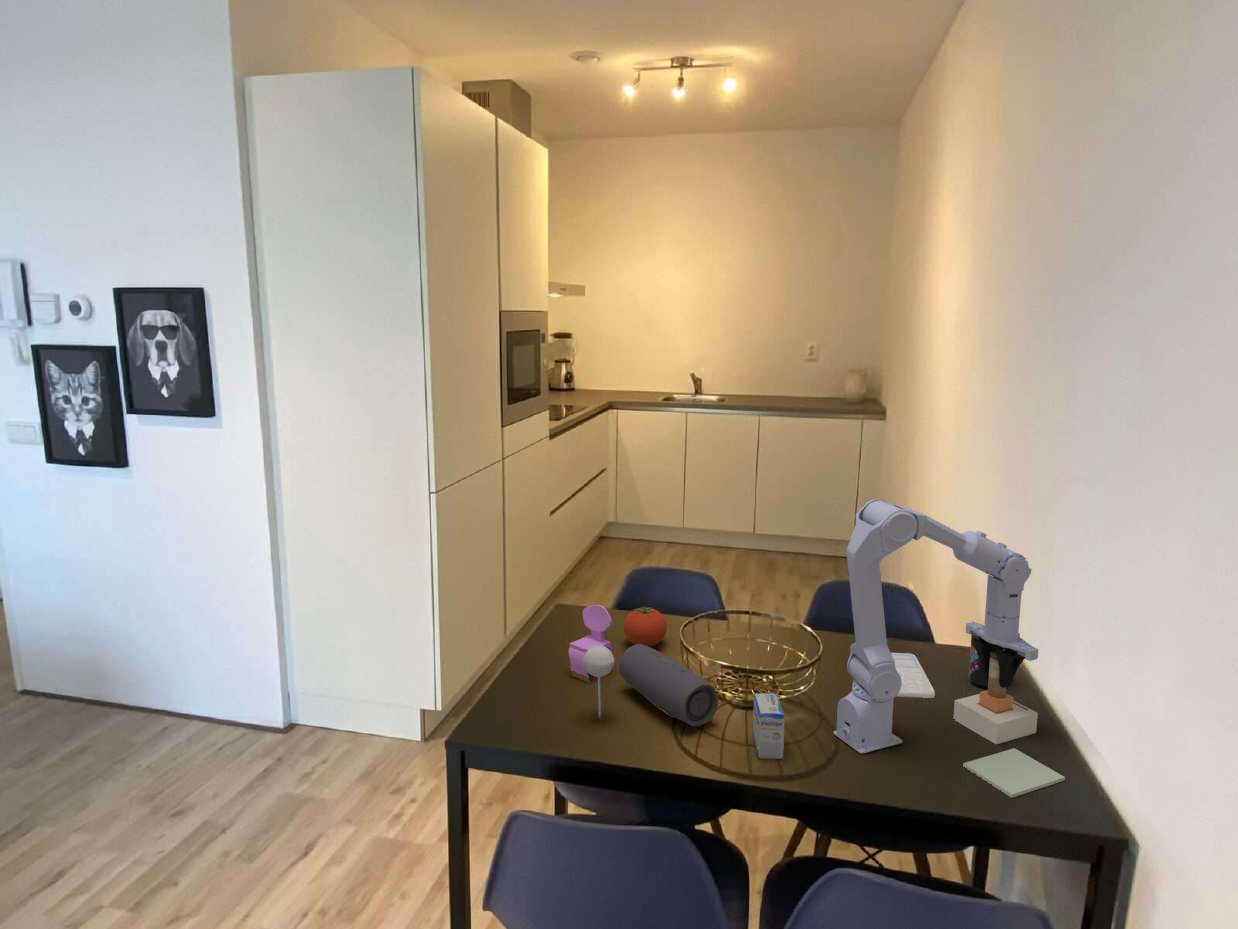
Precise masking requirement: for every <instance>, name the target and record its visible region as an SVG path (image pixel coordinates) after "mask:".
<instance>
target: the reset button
mask: <svg viewBox="0 0 1238 929" xmlns="http://www.w3.org/2000/svg"><path fill="white" fill-rule="evenodd" d="M979 694H980V697H979V705H980V706H982V707H984V708H986V709H988V710H989V711H991V712H993V713H995V714H999V713H1003V712H1007V711H1010V710H1012V706H1013V700H1014V696H1012V695H1010V694H1008V693H1006V694H1005V696H1004V697H995V696H992V695H990V694H988V689H985V690H983V691H982V690H981V691H979Z"/></svg>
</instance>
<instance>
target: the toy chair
mask: <svg viewBox="0 0 1238 929" xmlns="http://www.w3.org/2000/svg"><path fill="white" fill-rule="evenodd" d="M582 618H583V622H584V625H585V627H587V628H588V629H589V630H590V631H591V633H590V634H588V635H585V636H584V637H582V638H580V639H577V640H574V641H571V642H570V643H569V648H568V657H569V662H570V663H569V664H570V669H569V670H571V671H575V672H576V673H578V674H582V675H584V676H586V677H587V678H589V679H590V676H589V673H588V672H587V671H586V669H585V667H584V664H583V658H584V656H585V654H586V652H587V651H588V650H589V649H590V648H592V647H594V646H604V647H606V648H608V649H609V650H610V651H611V652H612V650H613V646H612V644H611V641H610V640H606V639H605V631H606V630H608V629H609V628H610V627H611V625H612V617H611V615H610V613H609V612H608V610H607V608H606V607H604V606H603V605H600V604H591V605H588V606H586V607H584V608H583V610H582ZM613 666H614V667H615V664H614V665H613Z"/></svg>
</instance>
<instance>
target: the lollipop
mask: <svg viewBox="0 0 1238 929" xmlns="http://www.w3.org/2000/svg"><path fill="white" fill-rule="evenodd" d="M583 664H584V667H585V669H586V671H587V673H588V675H590V676H592V677H595V678H597V692H598V693H597V696H598V699H597V700H598V701H597V702H598V703H597V704H598V706H597V707H598V716H599V715H601V716H602V708H601V707H602V699H601V697H602V696H601V678H602V677H605V676H608V675H609V674H610V673H611V672H612V671H613V670H612V668H613V665H614V666H615V657H614V654H613V653H612V650H611V651H610V650H609V649H608V648H606V647H604V646H594V647H592V648H590V649H589V650H588V651H587V652H586V654H585V656H584V658H583Z"/></svg>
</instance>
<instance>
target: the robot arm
mask: <svg viewBox="0 0 1238 929" xmlns="http://www.w3.org/2000/svg"><path fill="white" fill-rule="evenodd" d="M922 537H925V538H928V539H930V540H932V541H935V542H936V543H939V544H941V545H943V546H945V547H948V548H951V549H952V551H953V552H952V553H953V554H954V557H955V558H956V560H958V561H960V562H962V563H964V564H966V565H968V566H971V567H973V568H975V569H977V570H979V571H981V572H983V573H984V574H985V575H987V583H986V595H985V596H986V598H985V614H984V624H981V623H978V622H975V621H971V622H966V623H965V633H966V634H968V635H971V634H974V635H976V636H978V637H979V639H978V641H974V642H973V646H974V648H975V650H976V651H977V653H978V656H979V658H980V661H981V665H982V669H983V674H984V679H986V680H988V679H989V664H990V651H992V650H1001V647H1003V648H1005V651H1004V650H1003V651H999V652H996V655H997V658H998V662H999V684H1000V687H1002V688H1004V687H1006V688H1008V687H1011V686H1012V683H1013V680H1014V677H1015V675H1016V673H1017V671H1018V669H1019V668H1020V666H1021V665H1022V663H1023V661H1024V660H1027V661H1029V662H1030V661H1035V660H1038V659H1039V658H1038V657H1039V648H1037V647H1035V646H1033V645H1032V644H1030V643H1028V642H1027V641H1026V640H1024V639H1023V638H1021V633H1019V631H1020V630H1019V627H1020V616H1021V603H1022V593H1023V591H1024V589H1025V584H1026V582H1027V581H1028V579H1029V578H1030V576H1031V574H1032V568H1030V565H1029V562H1028V560H1027V558H1026V556H1024V555H1023V554H1020V553H1018V552H1016V551H1014V550H1011V549H1009V548H1008V546H1007V544H1006V543H1003V542H1000V541H999V542H995V541H993V540H991V539H989V538H987V533H985V532H983V531H981V530H976V531H973V530H967V531H964V532H961V533H960V532H959V531H956V530H954V529H953V528H951V527H949V526H947V525H945V524H943V523H941V521H940V522H939V521H938V520H936V519H934V518H932V517H931V516H929V515H926V514H923V513H921V512H919V511H917V510H914V509H912V508H909V507H906V506H903V505H899V504H897V503H892V504H891V503H890V502H888V501H887V500H885V499H882V498H873V499H871V500H870V501H868V502H866V503H865V504H864V505H863V506H862V507H861V508H860V509H859V510H858V511H857V512H856V514H855V526H854V529H853V530H852V533H851V537H850V538H849V539H850V540H849V543H848V545H847V548H846V559H847V568H848V570H847V571H848V578H849V589H850V591H849V592H850V598H851V599H850V600H851V609H852V618H853V627H854V628H853V629H854V639H855V642H854V643H852V644H850V646H849V649H850V650H849V657H848V660H847V663H846V669H847V673H848V675H850V677H851V678H852V686H851V687H852V689H851V691H850V692H849V693H848V695H846V696H844V697H842V698H840V699H839V701H838V702H837V708H836V730H833V735H835V736H836V737H837V738H838V739H840V740H841V741H843V742H844V743H846V744H847V745H848V746H849V747H851V748H852V749H854V750H855V751H856V752H858V753H859V754H861V755H862V754H867V753H870V752H873V751H876V750H877V751H878V750H882V749H884V748H888V747H892V746H895V745H900V744H903V740H902V739H901V738H900V737H898V736H896V735H895V734H894V733H893V714H894V711H893V710H894V699H895V697H897V696H896V695H897V694H898V693H899V691H900V689H901V685H902V680H901V677H900V675H899V673H898V672H897V670H896V668H895V661H894V659H893V657H892V654H891V653H892V652H891V651H890V649H889V646H888V641H887V633H886V632H887V630H886V620H885V619H886V618H885V612H884V611H885V610H884V599H883V590H882V577H881V567H880V564H881V561H882V560H883V559H884V558H885V557H887V556H889V555H891V554H892V553H893V552H896V551H897V550H898V549H900V548H903V546H905V545H907V544H908V543H910V542H911V541H912V540H915V541H919V540H920V539H922Z"/></svg>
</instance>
